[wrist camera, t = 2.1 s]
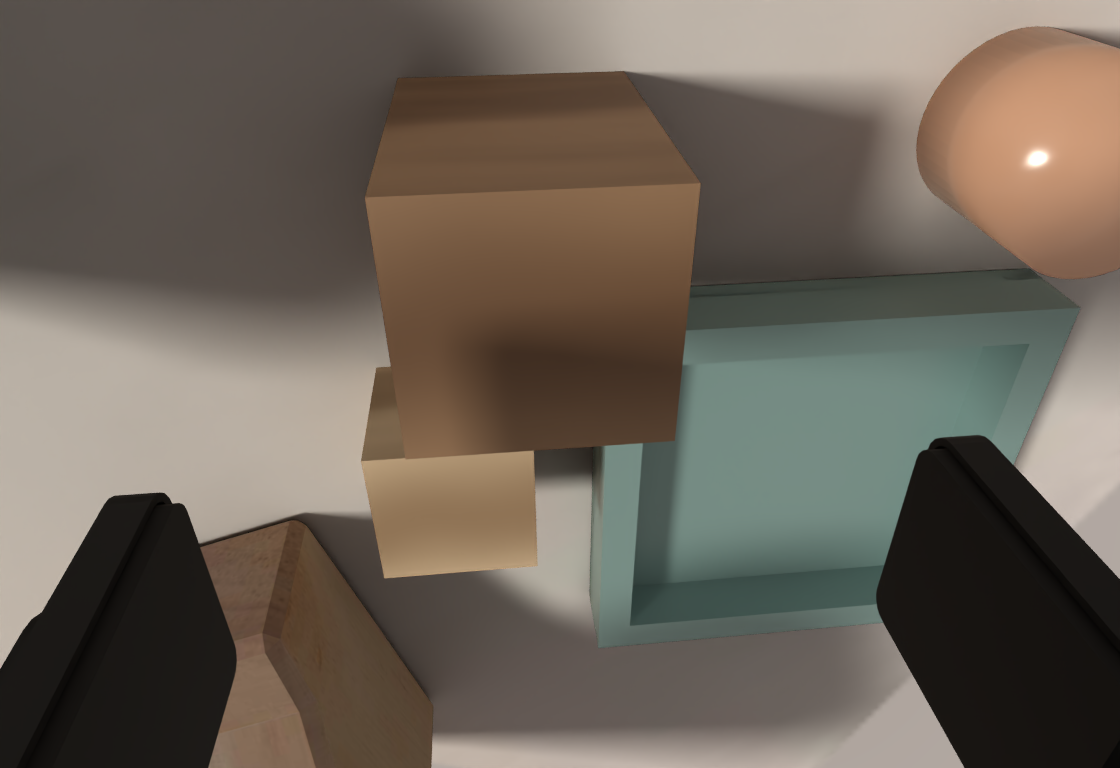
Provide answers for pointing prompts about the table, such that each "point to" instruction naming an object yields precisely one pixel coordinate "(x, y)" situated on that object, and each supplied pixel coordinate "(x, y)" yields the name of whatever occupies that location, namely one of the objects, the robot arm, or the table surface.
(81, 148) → the table surface
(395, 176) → the walnut block
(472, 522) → the oak cube
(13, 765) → the robot arm
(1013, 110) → the peach round blob
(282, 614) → the decorative block
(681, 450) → the tray
